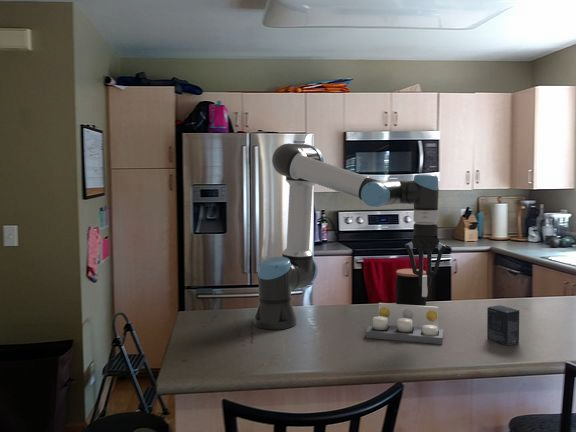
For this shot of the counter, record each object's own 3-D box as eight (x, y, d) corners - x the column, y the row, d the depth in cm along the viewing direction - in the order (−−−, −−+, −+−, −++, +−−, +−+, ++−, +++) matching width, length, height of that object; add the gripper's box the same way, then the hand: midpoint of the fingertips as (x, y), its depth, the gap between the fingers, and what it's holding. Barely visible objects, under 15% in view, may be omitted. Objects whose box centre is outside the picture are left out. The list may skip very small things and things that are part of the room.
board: (365, 337, 169) (365, 331, 169) (370, 329, 178) (370, 323, 178) (442, 344, 162) (442, 337, 162) (443, 335, 170) (443, 329, 170)
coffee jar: (423, 316, 193) (423, 268, 192) (428, 324, 183) (428, 274, 181) (394, 315, 194) (394, 268, 193) (397, 324, 184) (397, 274, 182)
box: (519, 343, 162) (520, 310, 161) (506, 346, 159) (506, 312, 158) (499, 336, 169) (499, 304, 168) (486, 339, 166) (486, 306, 165)
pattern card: (378, 326, 182) (378, 303, 181) (379, 325, 183) (379, 302, 182) (437, 330, 175) (438, 307, 174) (438, 329, 176) (438, 306, 176)
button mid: (396, 331, 168) (396, 321, 168) (398, 327, 173) (398, 317, 172) (411, 332, 167) (411, 322, 166) (412, 328, 171) (413, 318, 171)
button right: (421, 338, 166) (421, 328, 165) (422, 333, 170) (422, 324, 170) (437, 339, 164) (437, 329, 164) (438, 335, 169) (438, 325, 168)
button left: (371, 329, 171) (371, 319, 170) (374, 325, 175) (374, 315, 175) (386, 330, 169) (386, 320, 169) (388, 326, 174) (388, 316, 173)
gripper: (403, 223, 163) (402, 297, 165) (446, 224, 159) (445, 300, 161) (406, 221, 170) (405, 292, 172) (447, 222, 166) (446, 294, 168)
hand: (424, 295), depth 167 cm, fingers closed
